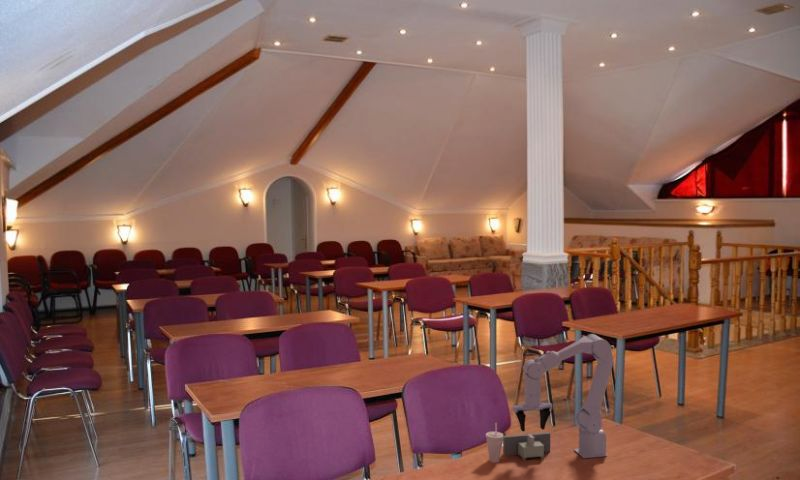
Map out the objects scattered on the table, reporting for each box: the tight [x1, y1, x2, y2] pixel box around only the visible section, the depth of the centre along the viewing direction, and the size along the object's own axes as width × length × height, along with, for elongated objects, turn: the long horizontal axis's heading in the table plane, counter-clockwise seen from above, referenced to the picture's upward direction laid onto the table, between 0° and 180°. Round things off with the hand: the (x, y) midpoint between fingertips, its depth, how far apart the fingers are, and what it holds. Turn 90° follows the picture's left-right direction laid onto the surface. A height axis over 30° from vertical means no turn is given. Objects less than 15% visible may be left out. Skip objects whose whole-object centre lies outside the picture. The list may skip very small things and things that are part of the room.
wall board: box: [502, 431, 551, 459], centre depth 253 cm, size 18×4×7 cm, turn 102°
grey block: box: [517, 433, 545, 462], centre depth 250 cm, size 8×5×8 cm, turn 102°
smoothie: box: [485, 422, 504, 464], centre depth 247 cm, size 6×6×14 cm
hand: (532, 429), depth 250 cm, fingers open, 7 cm apart
